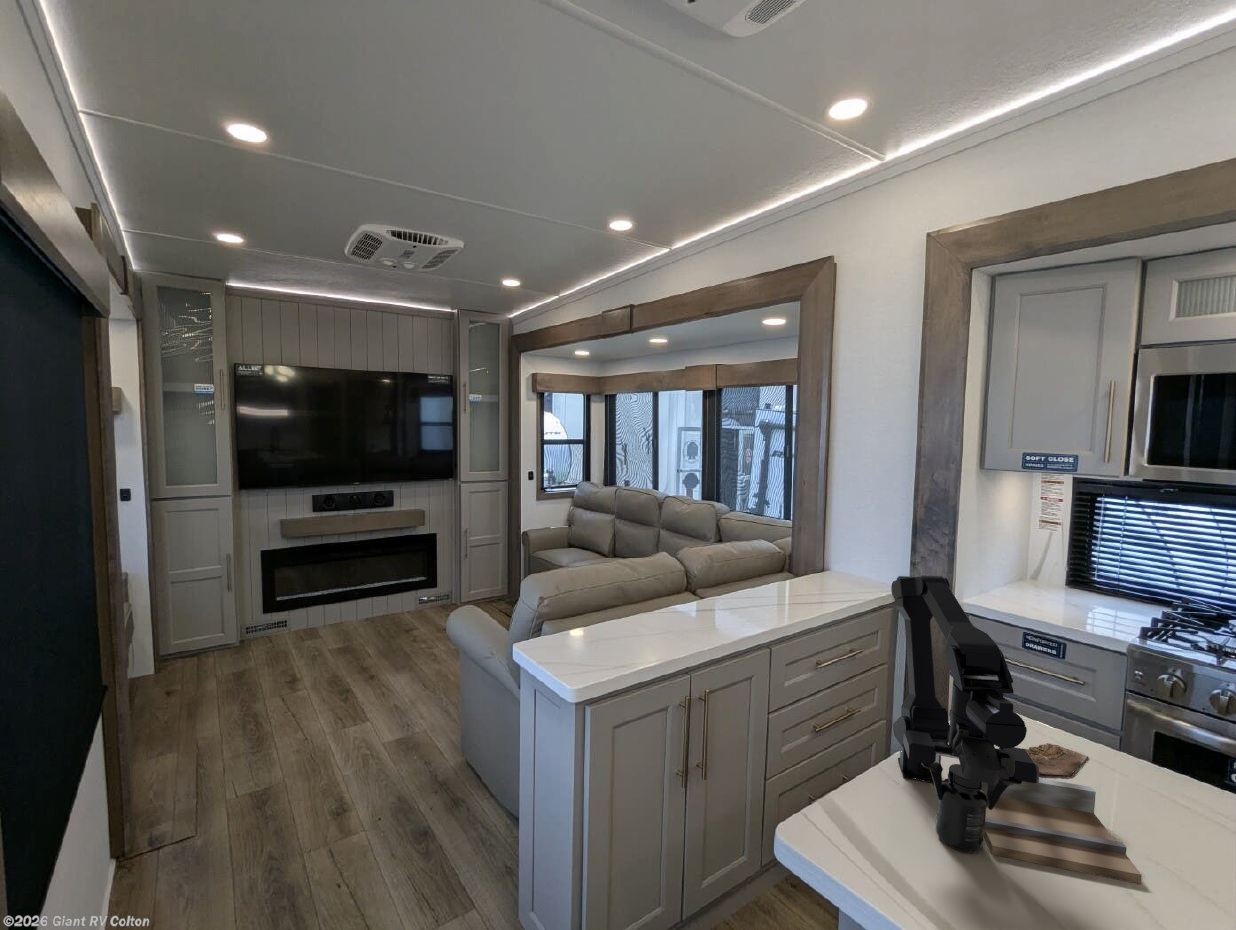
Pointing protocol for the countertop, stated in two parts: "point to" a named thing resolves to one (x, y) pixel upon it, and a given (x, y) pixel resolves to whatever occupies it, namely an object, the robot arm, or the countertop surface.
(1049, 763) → the wooden fragment
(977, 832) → the supplement bottle
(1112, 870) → the cleat board
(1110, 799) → the countertop surface
